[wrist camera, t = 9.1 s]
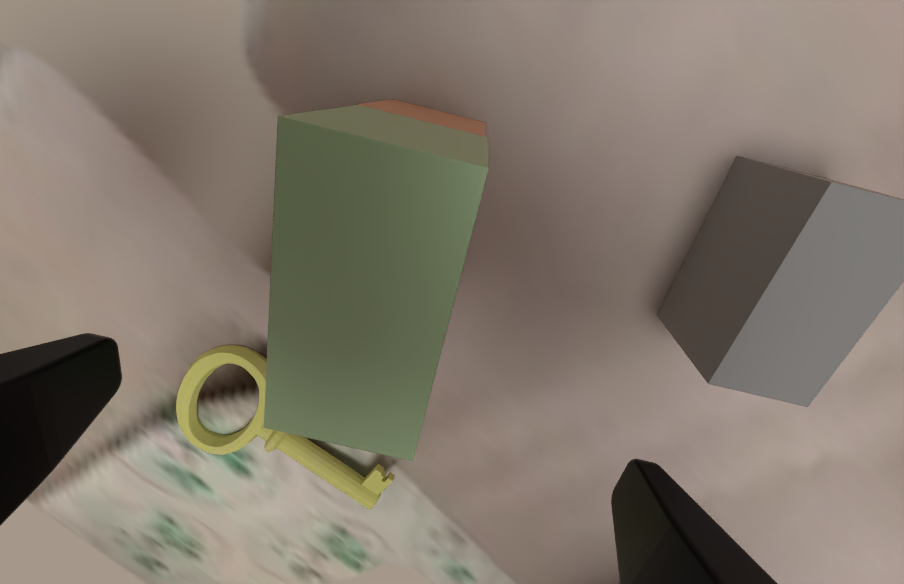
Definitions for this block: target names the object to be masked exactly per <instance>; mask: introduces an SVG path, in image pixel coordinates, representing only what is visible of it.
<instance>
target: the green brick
mask: <svg viewBox="0 0 904 584" xmlns="http://www.w3.org/2000/svg"><path fill="white" fill-rule="evenodd" d="M488 169H489V160H488V137H485V136H481V135H477V134H473V133H469V132H465V131H461V130H457V129H453V128H449V127H445V126H441V125H437V124H433V123H429V122H425V121H421V120H417V119H413V118H409V117H405V116H401V115H397V114H393V113H389V112H385V111H381V110H377V109H373V108H369V107H365V106H361V105H353V106H346V107H339V108H332V109H325V110H317V111H310V112H303V113H296V114H289V115H282V116H278V126H277V148H276V170H275V193H274V213H273V235H272V257H271V279H270V300H269V322H268V344H267V366H266V388H265V409H264V428H266V429H271V430H275V431H280V432H284V433H289V434H293V435H298V436H302V437H307V438H311V439H316V440H320V441H324V442H329V443H333V444H338V445H342V446H347V447H351V448H356V449H360V450H365V451H369V452H373V453H378V454H382V455H387V456H391V457H396V458H400V459H405V460H409V461H413V458H414V454H415V450H416V446H417V443H418V439H419V435H420V431H421V427H422V423H423V419H424V416H425V412H426V408H427V404H428V400H429V396H430V393H431V389H432V385H433V381H434V377H435V373H436V369H437V366H438V362H439V358H440V354H441V350H442V346H443V342H444V339H445V335H446V331H447V327H448V323H449V319H450V316H451V312H452V308H453V304H454V300H455V296H456V292H457V289H458V285H459V281H460V277H461V273H462V269H463V266H464V262H465V258H466V254H467V250H468V246H469V242H470V239H471V235H472V231H473V227H474V223H475V219H476V215H477V212H478V208H479V204H480V200H481V196H482V192H483V189H484V185H485V181H486V177H487V173H488Z"/></svg>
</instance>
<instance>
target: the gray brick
mask: <svg viewBox="0 0 904 584" xmlns="http://www.w3.org/2000/svg"><path fill="white" fill-rule="evenodd" d="M903 282H904V199H900V198H896V197H893V196H889V195H885V194H882V193H878V192H874V191H871V190H867V189H863V188H860V187H856V186H852V185H848V184H845V183H841V182H837V181H834V180H830V179H826V178H822V177H818V176H814V175H810V174H806V173H803V172H799V171H795V170H791V169H787V168H783V167H779V166H775V165H771V164H767V163H763V162H759V161H755V160H751V159H747V158H743V157H739V156H737V157H736V159H735V161H734V163H733V165H732V167H731V169H730V171H729V173H728V175H727V177H726V179H725V181H724V183H723V185H722V187H721V189H720V191H719V193H718V194H717V196H716V198H715V200H714V202H713V204H712V206H711V208H710V210H709V212H708V214H707V216H706V218H705V220H704V222H703V224H702V226H701V228H700V230H699V232H698V234H697V236H696V238H695V240H694V242H693V244H692V246H691V248H690V250H689V252H688V254H687V256H686V258H685V260H684V262H683V264H682V266H681V268H680V270H679V272H678V274H677V276H676V278H675V280H674V282H673V284H672V286H671V288H670V290H669V292H668V294H667V296H666V298H665V300H664V302H663V304H662V306H661V308H660V310H659V312H658V314H657V316H658V317H659V319H660V320H661V321H662V323H663V324H664V325H665V327H666V328H667V329H668V331H669V332H670V333H671V335H672V336H673V337H674V339H675V340H676V341H677V343H678V344H679V345H680V347H681V348H682V349H683V351H684V352H685V353H686V355H687V356H688V357H689V359H690V360H691V361H692V363H693V364H694V365H695V367H696V368H697V370H698V371H699V372H700V374H701V375H702V376H703V378H704V379H705V380H706V382H707V383H708V384H711V385H716V386H720V387H724V388H728V389H733V390H737V391H741V392H745V393H750V394H754V395H758V396H763V397H767V398H771V399H775V400H780V401H784V402H788V403H793V404H797V405H801V406H805V407H808V406H809V405H810V403H811V402H812V401H813V400H814V398H815V397H816V396H817V394H818V393H819V392H820V390H821V389H822V388H823V386H824V385H825V384H826V382H827V381H828V380H829V379H830V377H831V376H832V375H833V373H834V372H835V371H836V369H837V368H838V367H839V365H840V364H841V363H842V362H843V360H844V359H845V358H846V356H847V355H848V354H849V352H850V351H851V350H852V348H853V347H854V346H855V344H856V343H857V342H858V341H859V339H860V338H861V337H862V335H863V334H864V333H865V331H866V330H867V329H868V327H869V326H870V325H871V323H872V322H873V321H874V320H875V318H876V317H877V316H878V314H879V313H880V312H881V310H882V309H883V308H884V306H885V305H886V304H887V303H888V301H889V300H890V299H891V297H892V296H893V295H894V293H895V292H896V291H897V289H898V288H899V287H900V285H901V284H902V283H903Z"/></svg>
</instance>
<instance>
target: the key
mask: <svg viewBox="0 0 904 584" xmlns="http://www.w3.org/2000/svg"><path fill="white" fill-rule="evenodd" d="M226 363H231V364H236V365H239V366H241V367H243V368H245V369H246V370H247V371H248V372H249V373H250V374H251V375H252V376H253V377H254V378H255V380H256V382H257V384H258V387H259V405H258V410H257V412H256V414H255V416H254V418H253V419H252V420H251V422H250V423H249V424H248V425H247V426H246V427H245V428H244V429H243V430H241V431H239V432H236V433H234V434H231V435H220V434H217V433H214V432H211V431H209V430H208V429H206V428H205V427H204V426H203V425H202V424H201V422H200V420H199V418H198V413H197V399H198V395H199V392H200V389H201V387H202V385H203V383H204V382H205V380H206V379H207V377H208V376H209V375H210V374H211V373H212V372H213V371H214V370H216V369H217V368H218V367H220V366H222V365H224V364H226ZM266 366H267V359H266V358H265V357H264V356H262V355H261V354H259V353H258V352H256V351H254V350H252V349H250V348H247V347H243V346H238V345H226V346H220V347H217V348H214V349H211V350H209V351H207V352H205V353H203V354H202V355H201V356H200V357H198V358H197V359H196V360H195V362H194V363H193V364H192V365H191V366H190V368H189V369H188V371H187V372H186V374H185V377H184V379H183V381H182V383H181V386H180V389H179V392H178V396H177V404H176V410H177V419H178V423H179V427H180V429H181V430H182V432H183V434H184V435H185V437H186V438H187V439H188V441H190V442H191V443H192V444H193V445H195V446H196V447H198V448H199V449H201V450H203V451H206V452H208V453H212V454H228V453H231V452H234V451H237V450H239V449H241V448H242V447H244V446H245V445H247V444H248V443H249V442H250V441H252V440H253V439H254V438H255V437H256V436H257V435H258V436H260V437H261V438H263V439H264V440H266V443H265V450H266V451H268V452H271V451H273V450H274V449H276V448H278V449H279V450H281V451H282V452H284V453H285V454H287V455H288V456H290V457H291V458H293V459H294V460H296V461H297V462H299V463H300V464H302V465H303V466H305V467H306V468H308V469H309V470H311V471H312V472H314V473H315V474H317V475H318V476H320V477H321V478H323V479H324V480H326V481H327V482H329V483H330V484H332V485H333V486H335V487H336V488H338V489H339V490H341V491H342V492H344V493H345V494H347V495H348V496H350V497H351V498H353V499H354V500H356V501H357V502H359V503H360V504H362V505H363V506H365V507H366V508H368V509H371V508H372V507H373V506H374V505H375V504H376V502H377V500H378V499H379V497H380V495H381V492H382V491H383V490H384V489H385V488H386V487H387V486H388V485H389V484H390V483H391V482H392V481H393V479H394V476H395V475H394V474H392V473H391V472H390V473H389V475H388V476H385V473H386V472H385V471H384V467H382V466H381V465H379V464H378V465H377V466H376V467H375V468H374V469H373V470H372V471H371V472H370V473H369V474H368V475H367V476H366V477H363V476H362V475H360V474H359V473H357V472H356V471H354V470H353V469H351V468H350V467H348V466H347V465H345V464H344V463H342V462H341V461H340V460H338V459H337V458H335V457H334V456H332V455H331V454H329V453H328V452H326V451H325V450H323V449H322V448H320V447H319V446H317V445H316V444H314V443H313V442H311V441H310V440H308V439H307V438H306V437H302V436H298V435H293V434H289V433H284V432H280V431H275V430H271V429H266V428H264V409H265V388H266Z"/></svg>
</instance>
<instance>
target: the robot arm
mask: <svg viewBox="0 0 904 584" xmlns="http://www.w3.org/2000/svg"><path fill="white" fill-rule="evenodd" d="M121 380H122V373H121V366H120V358H119V351H118V345H117V343H116V342H115V340H113V339H112V338H109V337H105V336H100V335H96V334H90V333H85V334H80V335H76V336H72V337H68V338H64V339H60V340H56V341H52V342H48V343H44V344H40V345H35V346H31V347H27V348H23V349H19V350H15V351H11V352H7V353H3V354H0V525H1V524H2V523H3V522H4V521H5V520H6V519H7V518H8V517H9V516H10V515H11V514H12V513H13V512H14V511H15V510H16V509H17V508H18V507H19V506H20V505H21V504H22V503H23V502H24V501H25V500H26V498H27V497H28V496H29V495H30V494H31V493H32V492H33V491H34V490H35V489H36V488H37V487H38V486H39V485H40V484H41V483H42V482H43V481H44V480H45V478H46V477H47V476H48V475H49V474H50V473H51V472H52V471H53V470H54V468H55V467H56V466H57V465H58V464H59V463H60V461H61V460H62V459H63V458H64V457H65V455H66V454H67V453H68V452H69V450H70V449H71V448H72V447H73V445H74V444H75V443H76V442H77V441H78V439H79V438H80V437H81V436H82V434H83V433H84V432H85V431H86V429H87V428H88V427H89V426H90V424H91V423H92V422H93V421H94V419H95V418H96V417H97V416H98V414H99V413H100V412H101V411H102V409H103V408H104V407H105V406H106V405H107V403H108V402H109V401H110V400H111V398H112V397H113V396H114V395H115V393H116V392H117V390H118V389H119V387H120V384H121ZM611 504H612V514H613V523H614V532H615V541H616V551H617V560H618V569H619V578H620V584H777V583H776V582H775V581H774V580H773V579H772V578H771V577H770V576H769V575H768V574H767V573H766V572H765V571H764V570H763V569H762V568H761V567H760V566H759V565H758V564H757V563H756V562H755V561H754V560H753V559H752V558H751V557H750V556H749V555H748V554H747V553H746V552H745V551H744V550H743V549H742V548H741V547H740V546H739V545H738V544H737V543H736V542H735V541H734V540H733V539H732V538H731V537H730V536H729V535H728V534H727V533H726V532H725V531H724V530H723V529H722V528H721V527H720V526H719V525H718V524H717V523H716V522H715V521H714V520H713V519H712V518H711V517H710V516H709V515H708V514H707V513H706V512H705V511H704V510H703V509H702V508H701V507H700V506H699V505H698V504H697V503H696V502H695V501H694V500H693V499H692V498H691V497H690V496H689V495H688V494H687V493H686V492H685V491H684V490H683V489H682V488H681V487H680V486H679V485H678V484H677V483H676V482H675V481H674V480H673V479H672V478H671V477H670V476H669V475H668V474H667V473H666V472H665V471H664V470H663V469H662V468H661V467H660V466H659V465H657V464H656V463H653V462H649V461H644V460H640V459H633V460H631V461H630V462H629V463H628V464H627V466H626V468H625V470H624V472H623V473H622V475H621V477H620V479H619V480H618V482H617V484H616V486H615V488H614V490H613V493H612V499H611Z"/></svg>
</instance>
